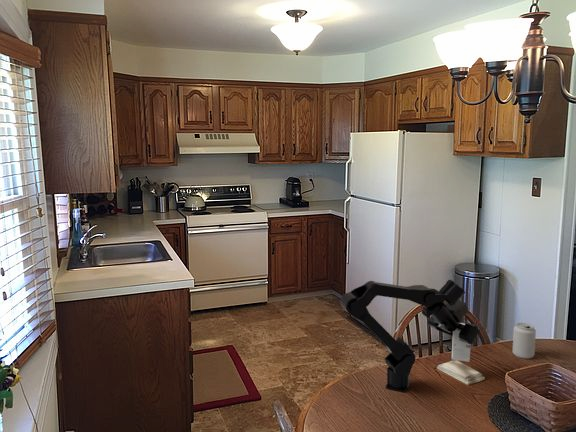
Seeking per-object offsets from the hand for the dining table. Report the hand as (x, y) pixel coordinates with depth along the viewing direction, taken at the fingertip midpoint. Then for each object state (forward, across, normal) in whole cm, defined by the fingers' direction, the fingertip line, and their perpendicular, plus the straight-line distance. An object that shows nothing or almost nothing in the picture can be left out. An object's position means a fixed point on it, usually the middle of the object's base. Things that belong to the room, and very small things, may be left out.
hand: (464, 339), depth 168 cm
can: (+30, -1, -13) cm, 33 cm away
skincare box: (+4, 0, +6) cm, 7 cm away
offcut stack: (+8, 0, +10) cm, 12 cm away
